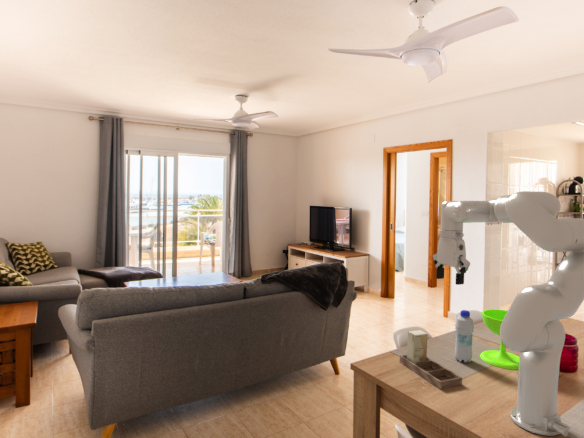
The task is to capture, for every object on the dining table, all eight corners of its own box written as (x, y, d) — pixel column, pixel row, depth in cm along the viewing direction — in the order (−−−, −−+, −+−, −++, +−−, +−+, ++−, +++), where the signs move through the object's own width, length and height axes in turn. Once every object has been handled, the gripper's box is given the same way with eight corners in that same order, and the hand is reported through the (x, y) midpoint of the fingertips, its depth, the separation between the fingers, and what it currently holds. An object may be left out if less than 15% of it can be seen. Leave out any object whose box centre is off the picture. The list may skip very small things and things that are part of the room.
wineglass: (518, 354, 155) (520, 311, 154) (532, 371, 140) (535, 324, 139) (475, 349, 159) (477, 307, 158) (485, 366, 144) (487, 320, 142)
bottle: (468, 357, 152) (470, 308, 151) (475, 364, 145) (477, 313, 144) (451, 356, 152) (453, 307, 151) (457, 363, 146) (459, 312, 145)
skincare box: (413, 367, 141) (414, 335, 141) (406, 362, 146) (406, 331, 145) (427, 364, 144) (428, 333, 143) (419, 360, 148) (420, 329, 147)
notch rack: (462, 384, 129) (462, 377, 129) (440, 389, 126) (440, 382, 126) (419, 358, 150) (419, 352, 150) (399, 361, 147) (399, 355, 147)
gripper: (478, 237, 131) (476, 285, 132) (442, 232, 147) (440, 275, 148) (461, 237, 128) (459, 287, 129) (426, 232, 144) (425, 277, 146)
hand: (449, 281), depth 139 cm, fingers open, 9 cm apart
